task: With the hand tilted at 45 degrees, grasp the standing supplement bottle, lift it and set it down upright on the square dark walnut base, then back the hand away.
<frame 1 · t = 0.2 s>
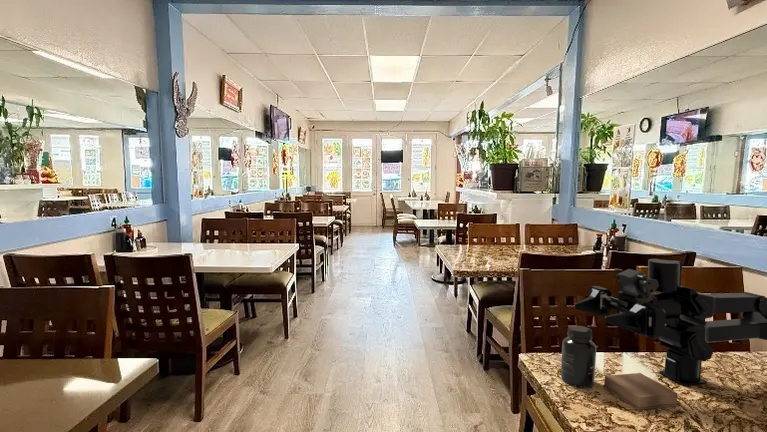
hand: (589, 312, 85), 17 cm above the table, tool horizontal, fingers open, 9 cm apart
walnut base: (638, 395, 83), on the table
supplement bottle: (577, 381, 89), on the table
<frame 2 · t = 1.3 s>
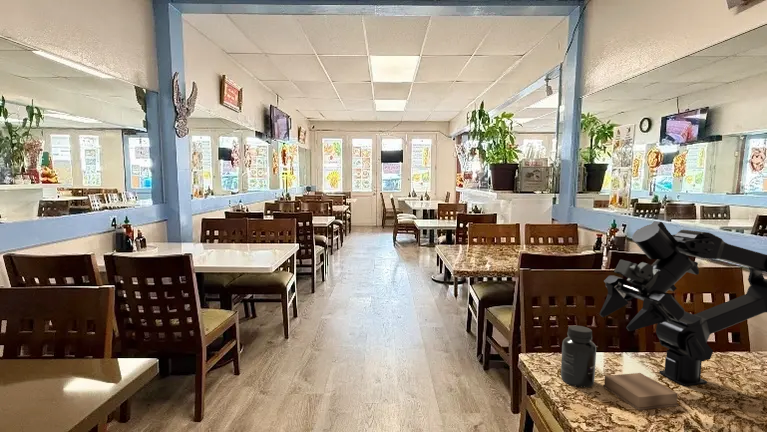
hand: (613, 322, 89), 13 cm above the table, tool tilted 45°, fingers open, 9 cm apart
nothing on the table moved.
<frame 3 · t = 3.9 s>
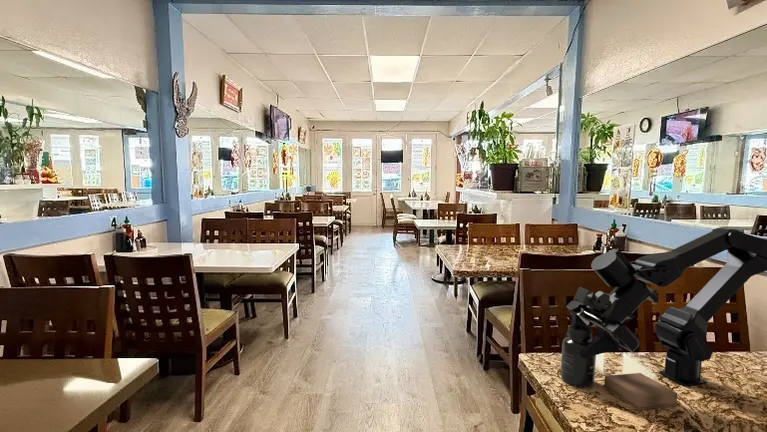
hand: (572, 349, 89), 7 cm above the table, tool tilted 45°, fingers closed on supplement bottle, 7 cm apart
supplement bottle: (577, 381, 89), on the table, touching gripper
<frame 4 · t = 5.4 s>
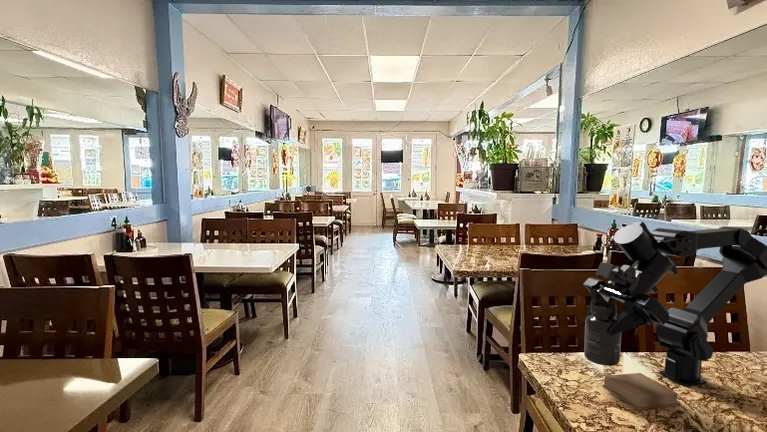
hand: (597, 327, 85), 13 cm above the table, tool tilted 45°, fingers closed on supplement bottle, 7 cm apart
supplement bottle: (601, 360, 86), point 6 cm above the table, touching gripper
when the fingers open (10 cm above the table, at t = 7.1 s): supplement bottle stays where it is, resting on walnut base.
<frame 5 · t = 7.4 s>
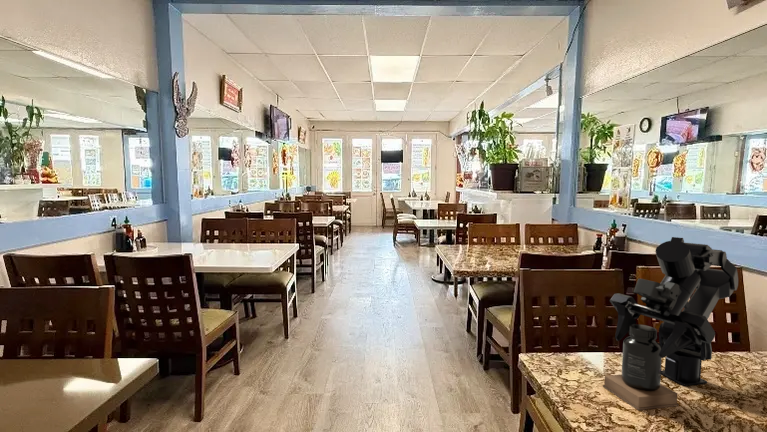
hand: (637, 347, 82), 11 cm above the table, tool tilted 45°, fingers open, 9 cm apart
supplement bottle: (640, 384, 83), point 2 cm above the table, touching walnut base
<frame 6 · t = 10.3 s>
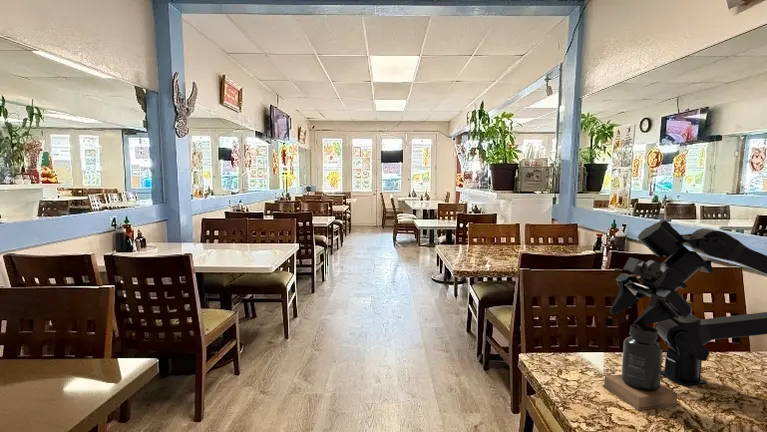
hand: (622, 318, 91), 14 cm above the table, tool tilted 45°, fingers open, 9 cm apart
nothing on the table moved.
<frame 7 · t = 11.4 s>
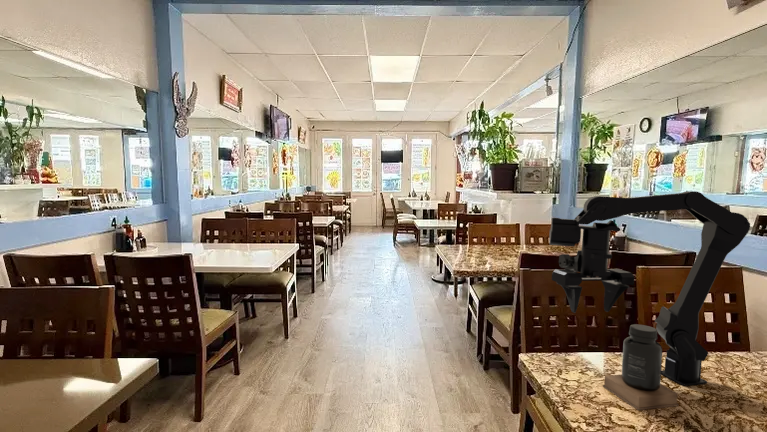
hand: (590, 311, 97), 13 cm above the table, tool pointing down, fingers open, 9 cm apart
nothing on the table moved.
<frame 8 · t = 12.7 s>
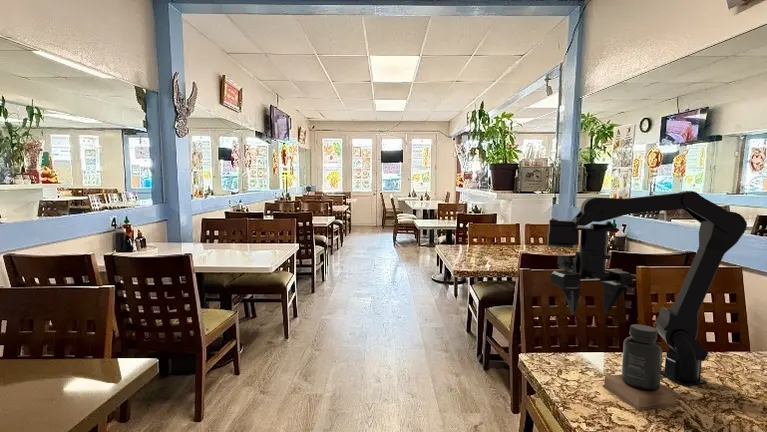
hand: (589, 312, 97), 13 cm above the table, tool pointing down, fingers open, 9 cm apart
nothing on the table moved.
at the end: supplement bottle inside the target area on the walnut base (0.2 cm from its centre), point 2.3 cm above the walnut base's base; supplement bottle tilted 0°; the gripper is holding nothing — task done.
